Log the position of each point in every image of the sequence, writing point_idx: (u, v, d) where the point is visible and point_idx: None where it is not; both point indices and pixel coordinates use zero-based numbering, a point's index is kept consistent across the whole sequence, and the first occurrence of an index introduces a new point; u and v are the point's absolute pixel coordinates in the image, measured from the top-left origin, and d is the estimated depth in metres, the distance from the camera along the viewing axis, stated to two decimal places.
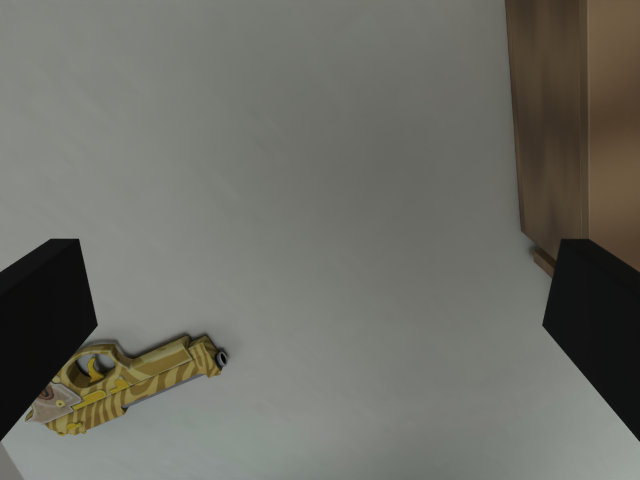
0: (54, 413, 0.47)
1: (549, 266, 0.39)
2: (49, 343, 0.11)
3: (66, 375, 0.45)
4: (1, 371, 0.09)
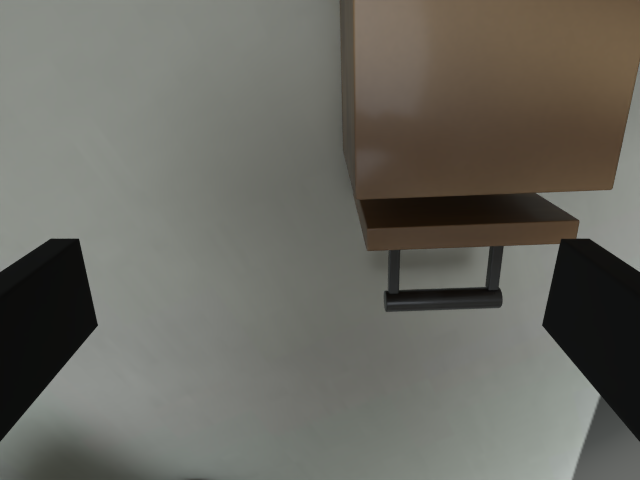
0: None
1: None
2: (49, 343, 0.11)
3: None
4: (1, 371, 0.09)
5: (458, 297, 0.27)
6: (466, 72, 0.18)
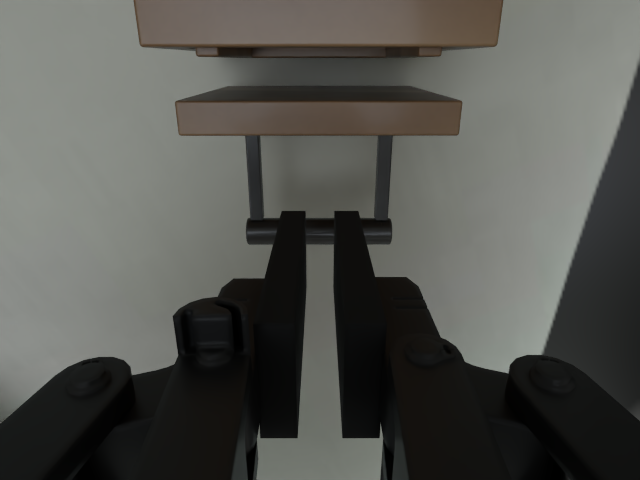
0: None
1: None
2: None
3: None
4: (302, 310, 0.11)
5: None
6: None
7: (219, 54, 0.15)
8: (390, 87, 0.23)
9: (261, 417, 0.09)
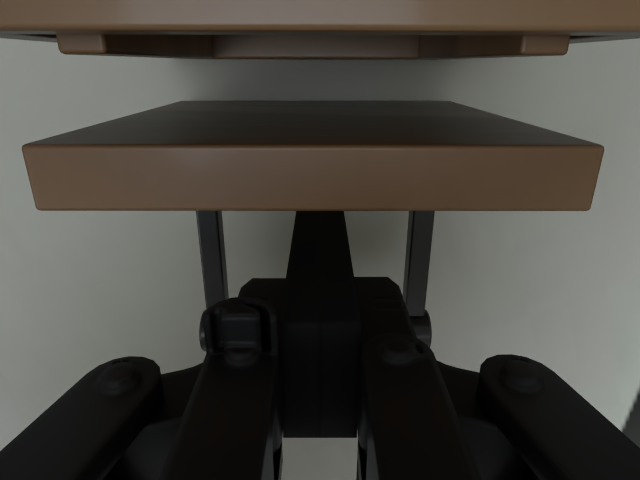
0: None
1: None
2: None
3: None
4: None
5: None
6: None
7: (108, 50, 0.07)
8: (424, 104, 0.15)
9: (284, 416, 0.09)
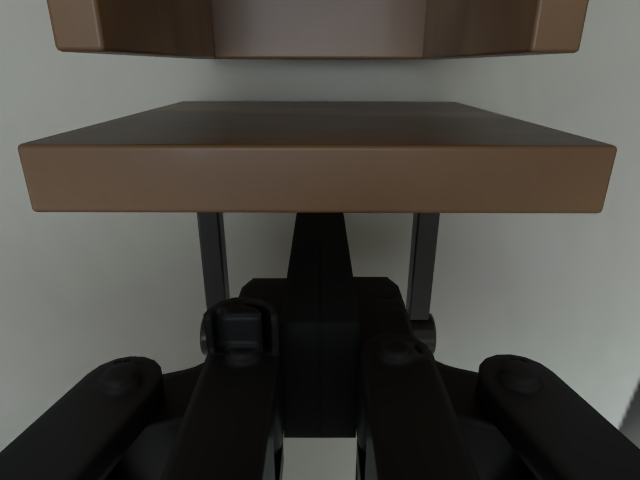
0: None
1: None
2: None
3: None
4: None
5: None
6: None
7: (107, 47, 0.07)
8: (428, 105, 0.15)
9: (285, 416, 0.09)
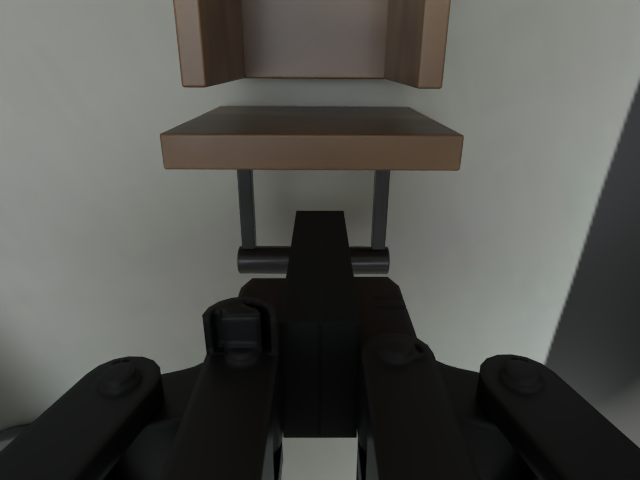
0: None
1: None
2: None
3: None
4: None
5: None
6: None
7: (206, 85, 0.14)
8: (388, 109, 0.22)
9: (285, 416, 0.09)
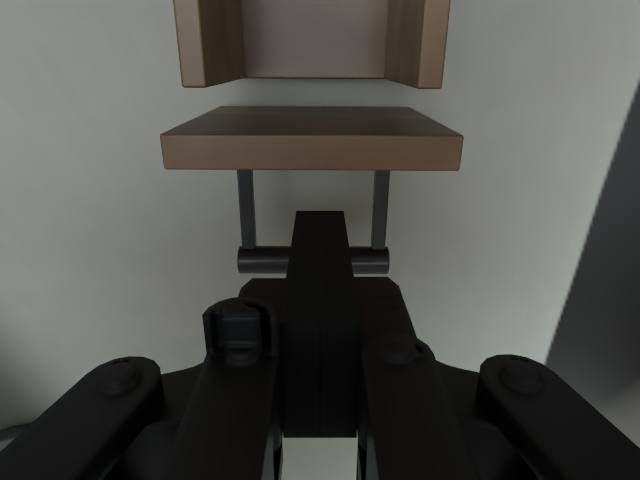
0: None
1: None
2: None
3: None
4: None
5: None
6: None
7: (207, 85, 0.14)
8: (388, 109, 0.22)
9: (285, 416, 0.09)
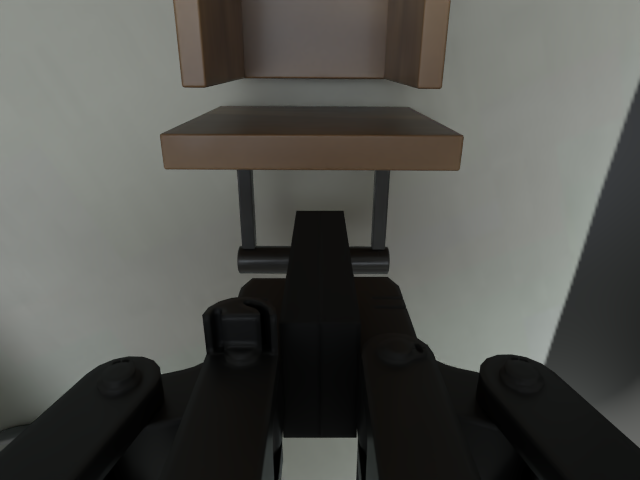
0: None
1: None
2: None
3: None
4: None
5: None
6: None
7: (206, 85, 0.14)
8: (388, 109, 0.22)
9: (285, 416, 0.09)
